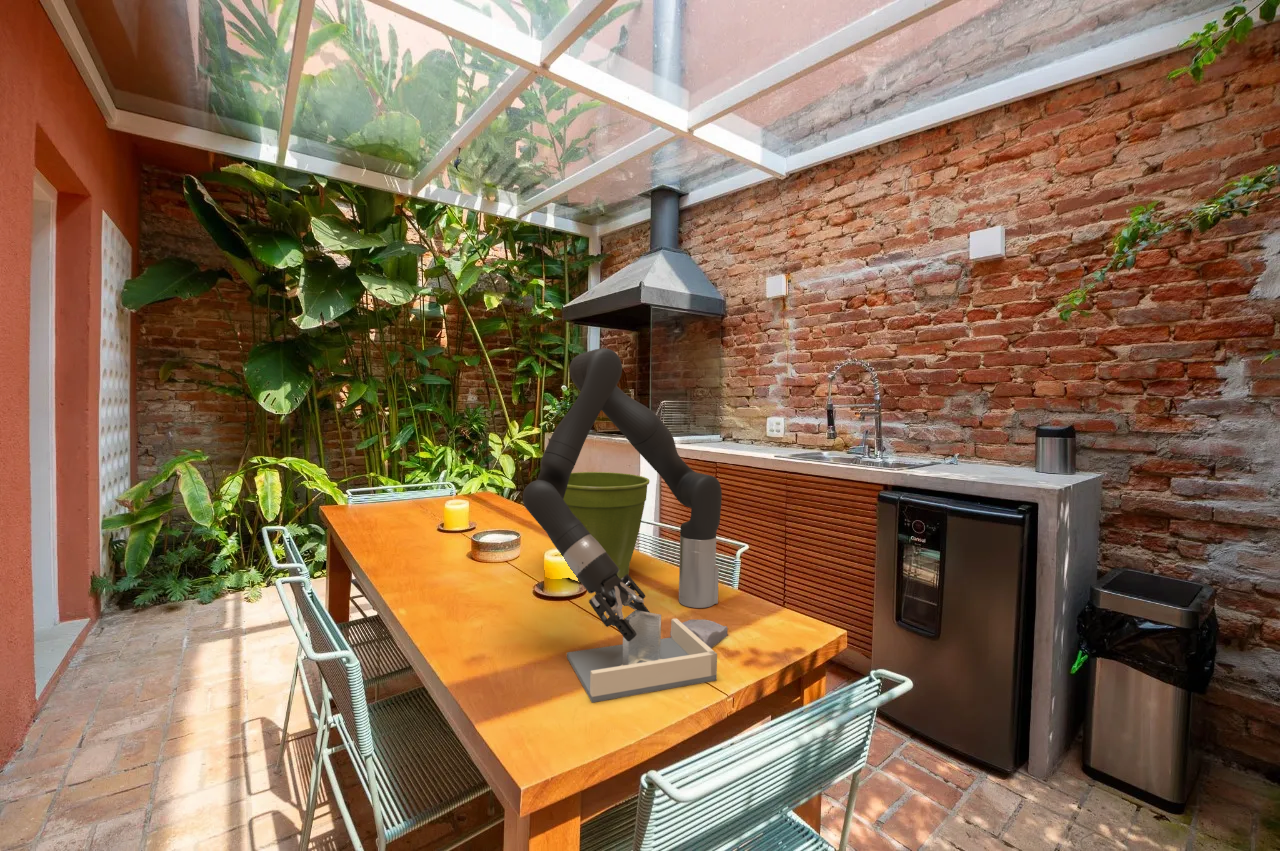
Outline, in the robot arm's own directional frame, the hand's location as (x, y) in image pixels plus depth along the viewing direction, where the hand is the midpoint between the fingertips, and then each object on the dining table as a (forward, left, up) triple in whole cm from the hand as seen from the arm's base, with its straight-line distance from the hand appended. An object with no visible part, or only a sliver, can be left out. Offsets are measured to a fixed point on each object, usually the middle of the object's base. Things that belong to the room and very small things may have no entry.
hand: (642, 630), depth 109 cm
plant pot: (-9, -58, -8) cm, 60 cm away
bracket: (0, 0, -6) cm, 6 cm away
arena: (0, 0, -8) cm, 8 cm away
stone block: (-17, -9, -8) cm, 21 cm away
